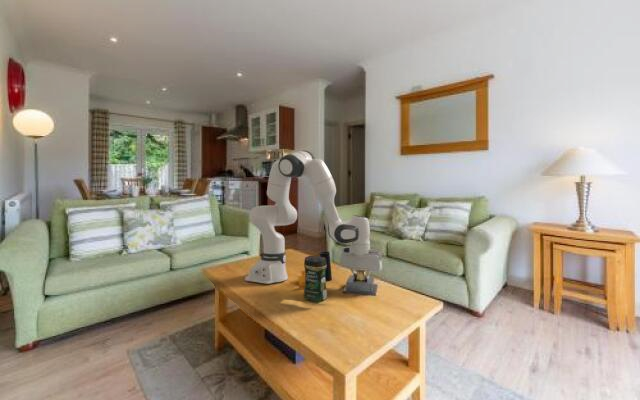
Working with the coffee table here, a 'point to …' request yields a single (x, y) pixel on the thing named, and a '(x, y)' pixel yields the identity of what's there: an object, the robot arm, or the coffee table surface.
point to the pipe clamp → (302, 278)
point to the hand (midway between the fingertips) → (360, 278)
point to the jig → (360, 286)
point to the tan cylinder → (360, 275)
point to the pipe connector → (328, 268)
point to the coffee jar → (315, 278)
